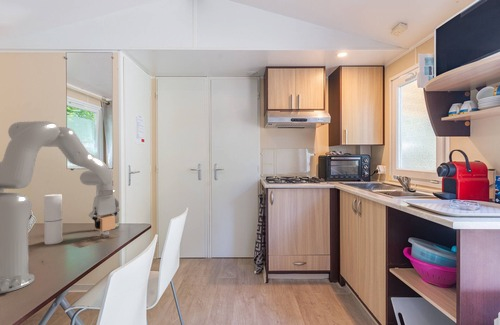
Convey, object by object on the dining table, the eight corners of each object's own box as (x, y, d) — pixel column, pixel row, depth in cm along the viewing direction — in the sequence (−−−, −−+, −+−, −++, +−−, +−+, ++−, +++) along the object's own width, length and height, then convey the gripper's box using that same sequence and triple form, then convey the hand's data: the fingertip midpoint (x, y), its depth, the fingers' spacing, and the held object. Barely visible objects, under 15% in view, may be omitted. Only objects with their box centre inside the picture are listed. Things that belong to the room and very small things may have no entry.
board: (108, 236, 143) (108, 233, 143) (119, 239, 139) (119, 236, 139) (68, 247, 126) (68, 244, 126) (80, 250, 121) (80, 247, 121)
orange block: (107, 226, 142) (107, 214, 141) (115, 228, 138) (115, 216, 138) (94, 229, 135) (94, 217, 135) (102, 231, 132) (102, 218, 132)
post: (110, 237, 137) (110, 228, 136) (101, 239, 134) (101, 229, 134) (107, 235, 139) (107, 226, 139) (99, 237, 137) (99, 228, 137)
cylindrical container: (52, 247, 125) (52, 196, 125) (40, 246, 127) (40, 195, 126) (66, 243, 132) (65, 194, 132) (54, 242, 134) (54, 194, 133)
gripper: (115, 190, 146) (115, 222, 146) (83, 194, 131) (83, 229, 131) (124, 191, 142) (124, 223, 143) (91, 196, 127) (92, 232, 127)
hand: (105, 226), depth 137 cm, fingers closed on orange block, 7 cm apart
